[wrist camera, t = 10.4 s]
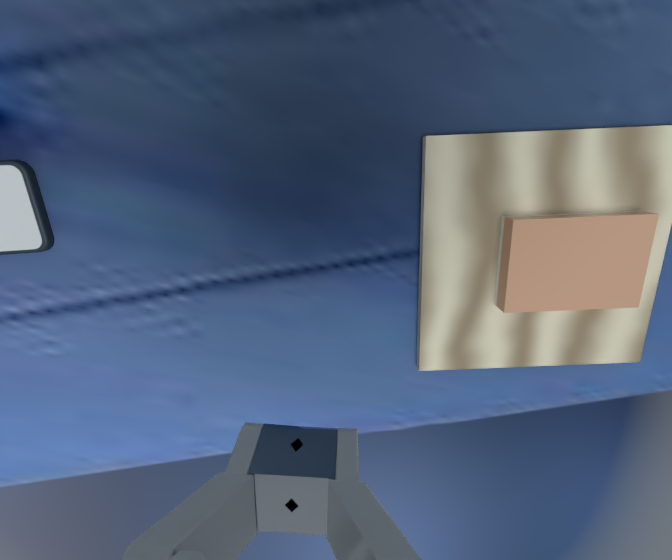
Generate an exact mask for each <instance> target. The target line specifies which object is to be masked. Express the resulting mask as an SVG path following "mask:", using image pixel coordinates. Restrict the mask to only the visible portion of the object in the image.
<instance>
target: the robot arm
mask: <svg viewBox="0 0 672 560" xmlns="http://www.w3.org/2000/svg"><path fill="white" fill-rule="evenodd" d="M337 433H338V436H337ZM257 531H263V532H293V533H302V534H312V535H323V536H327V540H328V542H329V544H330V546H331V549H332V550H333V553H334V555H335V557H336V559H337V560H421V559H420V557H419V556H418V555H417V553H416V552H415V551H414V549H413V548H412V546H411V545H410V544H409V542H408V541H407V539H406V538H405V537H404V536H403V534H402V533H401V531H400V530H399V528H398V527H397V526H396V524H395V523H394V522H393V520H392V519H391V517H390V516H389V515H388V513H387V512H386V511H385V509H384V508H383V507H382V505H381V504H380V502H379V501H378V500H377V498H376V497H375V496H374V494H373V493H372V491H371V490H370V489H369V487H368V486H367V485H366V483H365V482H360V481H359V478H358V431H357V429H348V428H321V427H299V426H287V425H275V424H257V423H245V424H244V425H243V426H242V429H241V431H240V434H239V436H238V439H237V441H236V444H235V447H234V449H233V452H232V454H231V457H230V460H229V462H228V465H227V468H226V470H225V473H218V474H216V475H215V476H214V477H213V478H212V479H210V480H209V481H208V482H206V483H205V484H204V485H203V486H201V487H200V488H199V489H198V490H197V491H195V492H194V493H193V494H192V495H190V496H189V497H188V498H187V499H185V500H184V501H183V502H182V503H180V504H179V505H178V506H177V507H176V508H174V509H173V510H172V511H171V512H169V513H168V514H167V515H165V516H164V517H163V518H162V519H161V520H159V521H158V522H157V523H156V524H154V525H153V526H152V527H151V528H149V529H148V530H147V531H146V532H144V533H143V534H142V535H141V536H139V537H138V538H137V539H136V540H134V541H133V542H132V543H131V544H130V545H129V547H128V548H127V550H126V552H125V554H124V556H123V557H122V559H121V560H236V559H237V558H238V557H239V555H240V554H241V553H242V552H243V551H244V549H245V548H246V546H248V544H249V543H250V542H251V541H252V539H253V538H254V537H255V535H256V534H257Z"/></svg>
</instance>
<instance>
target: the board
mask: <svg viewBox="0 0 672 560" xmlns="http://www.w3.org/2000/svg"><path fill="white" fill-rule="evenodd" d="M614 211H645V212H651V213H657V214H659V217H658V221H657V226H656V230H655V235H654V239H653V244H652V249H651V253H650V258H649V262H648V267H647V271H646V276H645V281H644V285H643V290H642V294H641V299H640V303H639V307H637V308H613V309H589V310H564V311H540V312H515V313H503V312H502V311H501V310H500V309H499V308H498V307H497V306H496V305H494V296H495V286H496V275H497V264H498V253H499V242H500V231H501V221H502V216H520V215H544V214H567V213H591V212H614ZM671 224H672V125H665V126H642V127H620V128H597V129H574V130H551V131H528V132H505V133H483V134H460V135H437V136H424V137H423V151H422V188H421V225H420V262H419V299H418V336H417V367H418V370H419V371H428V370H453V369H478V368H503V367H528V366H553V365H578V364H603V363H628V362H640V358H641V354H642V350H643V345H644V341H645V337H646V332H647V328H648V324H649V319H650V315H651V311H652V306H653V302H654V298H655V293H656V289H657V285H658V280H659V276H660V272H661V267H662V263H663V259H664V254H665V250H666V246H667V241H668V237H669V232H670V228H671Z"/></svg>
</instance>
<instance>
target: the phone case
mask: <svg viewBox="0 0 672 560" xmlns="http://www.w3.org/2000/svg"><path fill="white" fill-rule="evenodd" d="M53 244H54V236H53V232H52V229H51V226H50V222H49V219H48V215H47V212H46V209H45V205H44V202H43V198H42V195H41V192H40V188H39V185H38V182H37V178H36V175H35V172H34V170H33V169H32V168H31V166H30V165H28V164H27V163H25V162H23V161H0V255H3V254H18V253H33V252H42V251H45V250H48V249H50V248H51V247H52V246H53Z"/></svg>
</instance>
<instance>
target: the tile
mask: <svg viewBox="0 0 672 560" xmlns="http://www.w3.org/2000/svg"><path fill="white" fill-rule="evenodd" d="M658 217H659V214H657V213H651V212H645V211H614V212H591V213H567V214H544V215H520V216H502V221H501V231H500V242H499V253H498V264H497V275H496V286H495V296H494V305H496V306H497V307H498V308H499V309H500V310H501V311H502V312H503V313H515V312H540V311H564V310H589V309H613V308H637V307H639V303H640V299H641V294H642V290H643V285H644V281H645V276H646V271H647V267H648V262H649V258H650V253H651V249H652V244H653V239H654V235H655V230H656V226H657V221H658Z"/></svg>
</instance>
